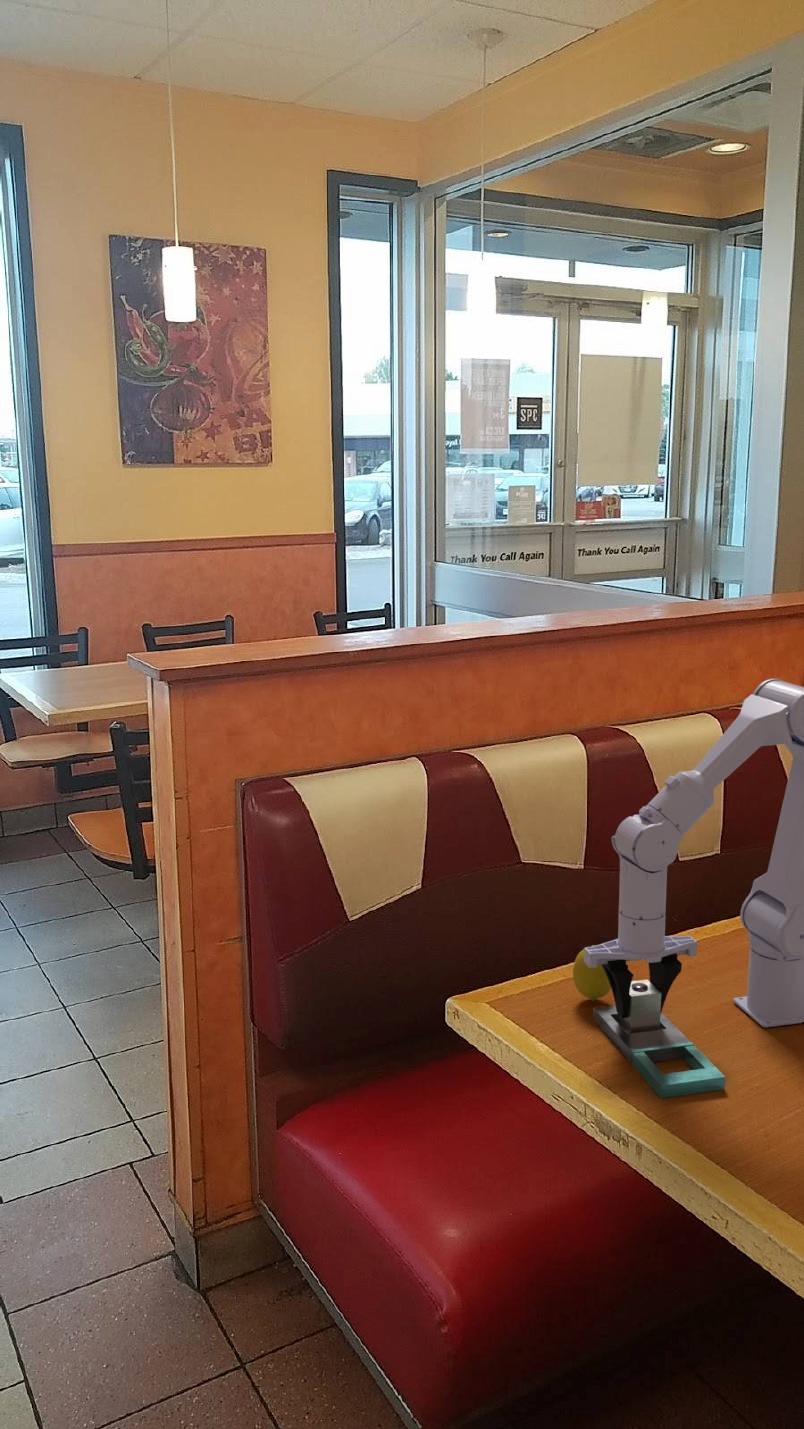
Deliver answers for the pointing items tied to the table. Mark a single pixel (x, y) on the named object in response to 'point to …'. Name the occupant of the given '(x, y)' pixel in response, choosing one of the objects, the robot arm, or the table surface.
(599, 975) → the lemon
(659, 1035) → the teal silver rectangular frame
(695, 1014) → the table surface
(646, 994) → the domed white cube
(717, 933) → the table surface
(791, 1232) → the table surface
